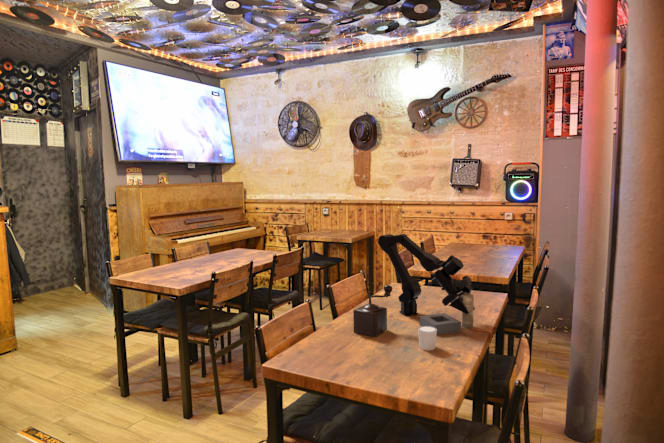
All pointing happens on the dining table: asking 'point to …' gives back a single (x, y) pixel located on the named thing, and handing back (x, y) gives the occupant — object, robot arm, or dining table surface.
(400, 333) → the dining table surface
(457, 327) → the socket
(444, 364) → the dining table surface
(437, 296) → the dining table surface
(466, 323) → the peg
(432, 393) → the dining table surface
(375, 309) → the pepper mill
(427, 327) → the shot glass
